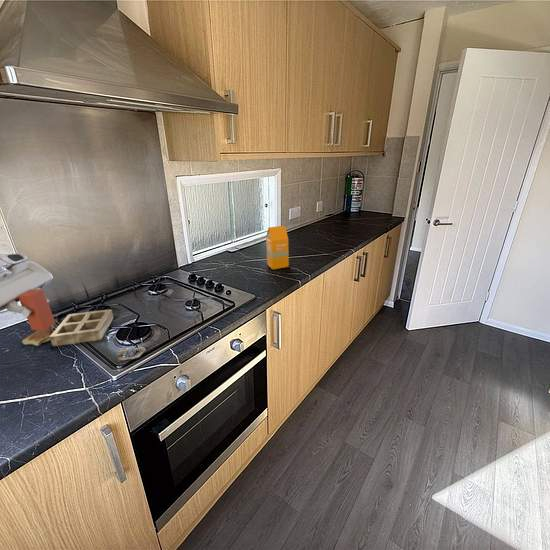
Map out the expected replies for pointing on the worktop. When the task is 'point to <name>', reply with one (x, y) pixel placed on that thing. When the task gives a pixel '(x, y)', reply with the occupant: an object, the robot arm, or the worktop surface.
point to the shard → (38, 337)
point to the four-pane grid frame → (82, 327)
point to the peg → (37, 309)
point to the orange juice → (277, 247)
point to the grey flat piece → (130, 353)
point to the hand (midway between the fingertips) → (39, 308)
